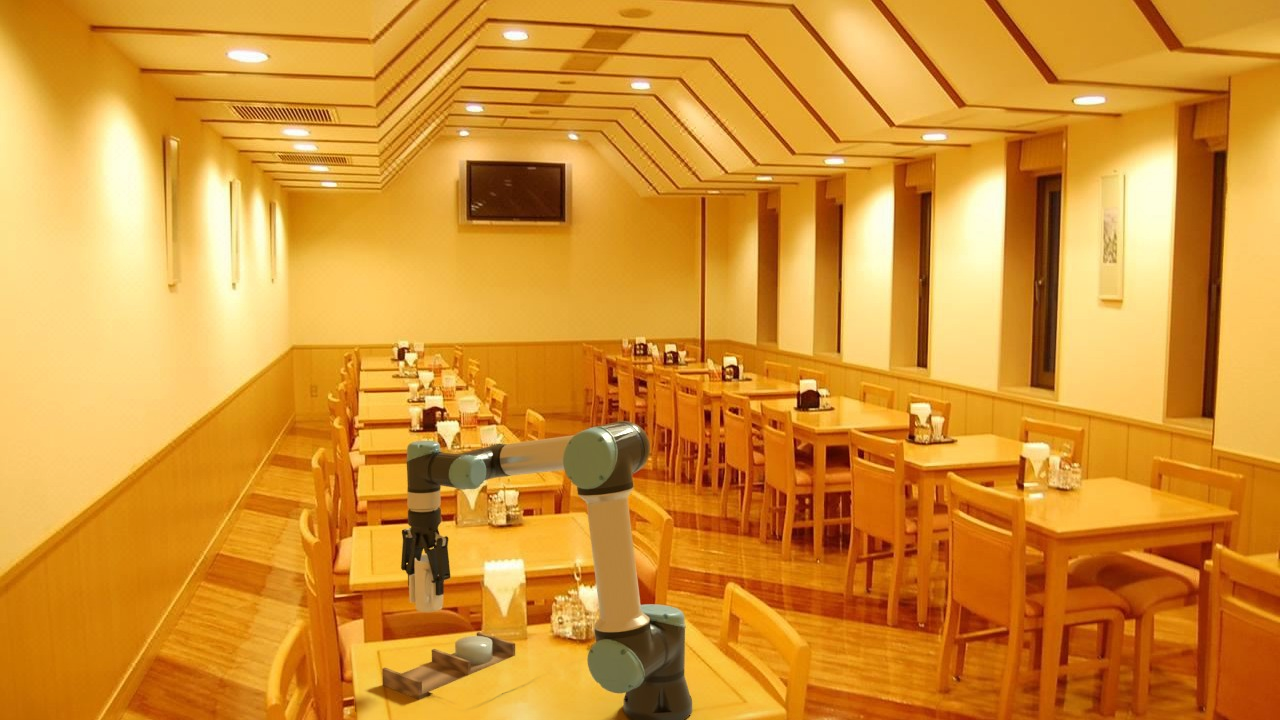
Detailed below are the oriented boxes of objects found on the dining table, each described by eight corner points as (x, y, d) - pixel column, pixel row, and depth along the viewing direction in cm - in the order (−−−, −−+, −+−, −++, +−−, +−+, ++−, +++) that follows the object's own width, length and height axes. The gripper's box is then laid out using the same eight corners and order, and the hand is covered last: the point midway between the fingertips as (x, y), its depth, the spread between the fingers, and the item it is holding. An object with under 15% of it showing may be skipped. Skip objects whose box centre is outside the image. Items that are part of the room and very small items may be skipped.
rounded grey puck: (500, 657, 250) (499, 641, 250) (473, 668, 243) (472, 652, 243) (474, 648, 256) (474, 633, 255) (447, 659, 249) (447, 643, 248)
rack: (515, 659, 252) (515, 643, 251) (419, 699, 228) (419, 682, 227) (479, 647, 260) (478, 631, 259) (382, 685, 236) (382, 668, 235)
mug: (417, 602, 241) (418, 553, 240) (446, 603, 241) (446, 554, 240) (408, 617, 231) (408, 566, 230) (437, 618, 231) (437, 566, 230)
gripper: (466, 511, 231) (467, 609, 233) (409, 499, 243) (410, 592, 245) (440, 517, 225) (442, 618, 227) (383, 504, 237) (385, 600, 239)
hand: (425, 604), depth 236 cm, fingers closed on mug, 7 cm apart
